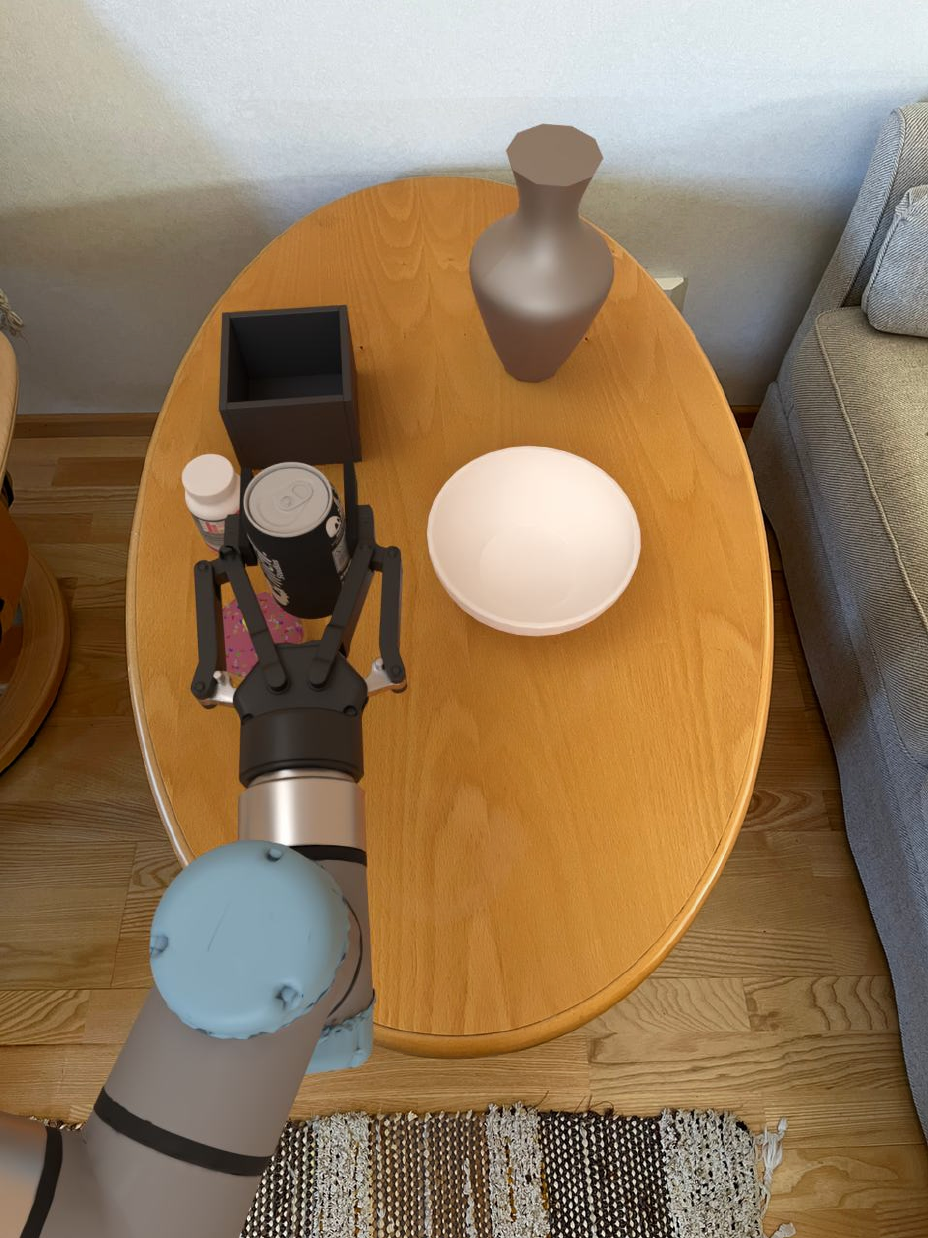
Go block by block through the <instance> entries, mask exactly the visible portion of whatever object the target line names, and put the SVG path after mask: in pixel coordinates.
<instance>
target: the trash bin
mask: <svg viewBox="0 0 928 1238" xmlns="http://www.w3.org/2000/svg"><path fill="white" fill-rule="evenodd" d="M349 317H350V316H349V311H348V305H347V304H334V305H333V304H332V305H317V306H303V307H300V306H299V307H286V308H272V309H271V308H270V309H256V310H242V311H241V310H240V311H225V312H221V327H220V328H221V329H220V330H221V331H220V355H219V356H220V357H219V360H220V362H219V383H218V384H219V386H218V413H219V415H220V417H221V420H222V423H223V425H224V428H225V431H226V433H227V436H228V439H229V441H230V444H231V446H232V449H233V451H234V454H235V457H236V459H237V462H238V465H239V467H240V469H241V468H251V469H252V471H255V470H264V469H266V468H268V467H270V466H273V465H276V464H279V463H285V462H298V463H304V464H307V465H310V466H320V465H333V464H343V462H345V461H354V463H359V462H363V459H362V457H363V456H362V442H361V441H362V439H361V424H360V423H361V422H360V406H359V405H360V404H359V389H358V388H359V387H358V371H357V363H356V357H355V351H354V350H355V349H354V345H353V338H352V332H351V331H352V330H351V323H350V318H349Z"/></svg>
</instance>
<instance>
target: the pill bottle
mask: <svg viewBox="0 0 928 1238" xmlns="http://www.w3.org/2000/svg"><path fill="white" fill-rule="evenodd" d="M181 482H182V486H183V487H184V490H185V491H184V492H185V493H184V500H185V501H184V502H185V504H186V507H187V509H188V511H189V513H190V515H191V517H192V519H193V521H194V523H195V524H196V528H197V529H198V531H199V533H200V536H201V537H202V540H203V542H204V543H205V545H206V546H207V547H208V548H209V549H210V550H211V551H212V552H214V553H215V554H217V555H219V553H218V551H219V548H220V547H221V546H223V545H224V524H225V519H226V517H227V515H228V514H239V503H240V475H239V474H238V473H237V472H236V470H235V468H234V466H233V464H232V463H231V461H230V460H229V459H228V458H226V457H225V456H222V455H220V454H217V453H205V454H201V455H199V456H196V457H195V458H193V459H192V460H190V461H189V462H188V463H186V465H185V466H184V468H183V471H182V473H181Z"/></svg>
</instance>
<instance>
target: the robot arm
mask: <svg viewBox="0 0 928 1238" xmlns="http://www.w3.org/2000/svg"><path fill="white" fill-rule="evenodd" d="M342 470H343V472H342V473H343V475H342V476H343V500H344V501H343V502H344V517H345V523H346V529H345V535H346V543H347V547H348V552H349V556H350V559H352V561H351V563H350V566H349V569H348V572H347V575H346V577H345V580H344V583H343V586H342V589H341V591H340V594H339V597H338V600H337V603H336V605H335V608H334V611H333V614H332V615H331V616H330V620H329V622H328V624H326V625H325V628H324V630H323V633H322V636H321V639H311V640H307V642H305V643H302V644H294V643H288V642H284V643H274V641H273V638H272V636H271V633H270V630H269V628H268V625H267V623H266V620H265V618H264V615H263V612H262V610H261V607H260V605H259V602H258V600H257V597H256V595H255V592H256V591H255V590H254V587H253V584H252V582H251V579H250V577H249V574H248V572H247V569H246V568H247V567H258V566H259V561H258V559H257V557H256V554H255V552H254V549H253V547H252V545H251V542H250V540H249V538H248V535H247V533H246V530H245V528H244V525H243V520H242V513H243V506H244V495H245V491H246V489H247V487H248V485H249V483H250V482H251V481H252V479H253V478H254V477H255V474H254V470H252V469H251V468H240V471H239V473H240V475H239V476H240V503H239V514H228V515H227V517H226V519H225V524H224V545H223V546H221V547H220V548H219V551H218V553H219V554H218V557H217V558H214V559H212V560H210V561H209V560H207V559H201V560H198V561H197V562H196V563H195V564H194V565H193V578H194V579H193V580H194V599H195V616H196V619H195V620H196V635H197V655H198V663H197V665H196V669H195V671H194V675H193V677H192V681H191V684H190V688H189V689H190V692H191V694H192V695H193V696H194V698H195V699H196V701H197V702H198V703H199V704H200V705H201V707H202V708H203V709H205V710H213V709H215V708H216V707H217V706H221V707H227V708H232V709H234V710H235V711H236V713H237V715H238V717H239V753H238V755H239V757H238V781H239V783H240V784H241V785H242V786H243V788H245V789H244V790H243V791H242V792H241V793H240V794H239V795H238V797H237V840H236V841H232V842H229V843H226V844H222V845H219V846H217V847H215V848H212V849H209V850H208V851H206V852H204V853H203V854H201V855H200V856H198V857H196V858H195V859H193V860H192V861H191V862H190V863H188V864H187V865H186V866H185V867H184V868H183V869H182V870H181V871H180V872H178V874H177V875H176V876H175V877H174V878H173V880H172V881H171V883H170V884H169V885H168V887H167V888H166V890H165V891H164V892H163V895H162V896H161V898H160V900H159V903H158V905H157V907H156V910H155V912H154V914H153V918H152V922H151V927H150V931H149V933H150V940H149V945H148V946H149V948H148V949H149V965H150V969H151V973H152V978H153V980H154V981H153V983H152V984H151V987H150V989H149V991H148V993H147V995H146V997H145V999H144V1002H143V1004H142V1006H141V1007H140V1010H139V1012H138V1014H137V1016H136V1018H135V1020H134V1022H133V1024H132V1027H131V1029H130V1031H129V1033H128V1035H127V1037H126V1039H125V1041H124V1043H123V1045H122V1047H121V1049H120V1052H119V1053H118V1056H117V1058H116V1060H115V1062H114V1064H113V1066H112V1068H111V1070H110V1072H109V1075H108V1076H107V1078H106V1081H105V1083H104V1085H102V1087H101V1089H100V1091H99V1093H98V1095H97V1098H96V1100H95V1102H94V1104H93V1109H92V1110H91V1112H90V1114H89V1116H88V1118H87V1119H86V1121H85V1123H84V1125H83V1127H82V1128H81V1130H78V1131H77V1130H70V1129H64V1128H58V1127H55V1126H51V1125H47V1124H45V1123H44V1122H42V1121H39V1120H35V1119H31V1118H28V1117H25V1116H21V1115H17V1114H14V1113H9V1112H6V1111H3V1110H0V1238H240V1236H241V1234H242V1230H243V1229H244V1226H245V1223H246V1220H247V1218H248V1216H249V1213H250V1210H251V1207H252V1204H253V1202H254V1199H255V1196H256V1194H257V1192H258V1188H259V1186H260V1183H261V1180H262V1178H263V1175H264V1174H265V1173H267V1172H266V1170H267V1169H268V1166H269V1164H270V1161H271V1159H272V1156H273V1154H275V1151H276V1148H277V1146H278V1144H279V1141H280V1139H281V1136H282V1133H283V1131H284V1128H285V1125H286V1123H287V1122H288V1121H287V1120H288V1119H289V1115H290V1114H291V1110H292V1108H293V1105H294V1103H295V1100H296V1098H297V1095H298V1093H299V1090H300V1088H301V1085H302V1083H303V1081H304V1078H305V1076H306V1075H311V1074H321V1073H328V1072H334V1071H335V1072H337V1071H342V1070H344V1069H355V1068H357V1067H360V1066H362V1065H363V1064H365V1063H366V1062H367V1061H368V1060H369V1058H370V1057H371V1054H372V1052H373V1048H374V1011H375V1004H376V1003H377V998H376V997H377V996H376V995H377V994H376V989H375V988H374V985H373V968H372V967H373V965H372V964H373V963H372V946H371V945H372V943H371V942H372V941H371V924H370V922H371V921H370V910H369V909H370V908H369V905H370V904H369V891H368V889H369V888H368V875H367V873H368V871H367V868H368V855H367V854H368V853H367V852H368V850H367V849H368V845H367V816H366V813H367V812H366V790H365V789H364V788H363V787H362V786H361V785H360V784H359V783H360V782H361V781H362V779H363V777H364V776H365V759H364V758H365V757H364V735H363V734H364V732H363V715H364V711H365V709H366V707H367V705H368V703H369V701H370V697H374V696H377V695H380V694H383V693H386V692H389V691H390V692H392V693H393V694H397V695H398V694H403V693H405V692H406V690H407V689H408V678H407V671H406V666H405V663H404V661H403V658H402V655H401V653H400V652H401V631H402V629H401V628H402V607H403V605H402V604H403V582H404V568H403V567H404V566H403V556H402V551H401V549H400V548H399V547H398V546H396V545H389V546H387V547H385V546H381V545H379V544H378V543H377V542H376V522H375V515H374V510H373V507H372V506H371V504H370V503H368V504H367V503H366V504H359V493H358V492H359V489H358V488H359V486H358V478H357V474H356V473H357V472H356V466H355V462H354V461H345V462H343V463H342ZM376 572H377V573H378V572H379V573H381V588H380V589H381V590H380V609H379V627H378V628H379V630H378V631H379V632H378V649H379V654H380V656H379V657H376V658H375V659H373V660H372V662H371V664H370V673H369V674H368V675H367V676H365V677H362V675H361V674H360V673H359V672H358V671H357V670H356V668H355V667H354V666H353V665H352V664H351V662H350V661H348V658H349V655H350V651H351V645H352V641H353V638H354V635H355V632H356V629H357V627H358V624H359V620H360V618H361V614H362V611H363V609H364V606H365V603H366V599H367V597H368V594H369V591H370V587H371V585H372V582H373V579H374V576H375V573H376ZM228 583H229V584H230V588H231V589H232V592H233V595H234V598H235V599H236V600H237V603H238V605H239V608H240V611H241V613H242V616H243V619H244V621H245V624H246V626H247V629H248V632H249V634H250V638H251V641H252V644H253V646H254V649H255V652H256V654H257V657H258V659H259V660H258V661H257V663H256V664H255V665H254V667H253V668H252V669H251V670H250V672H249V673H248V674H247V676H246V677H245V678H244V680H243V681H240V683H239V685H238V686H237V688H236V687H234V681H233V679H232V676H230V675H229V674H228V673H227V665H226V650H225V636H224V622H223V608H224V606H223V596H222V595H223V594H222V585H225V584H228Z"/></svg>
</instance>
